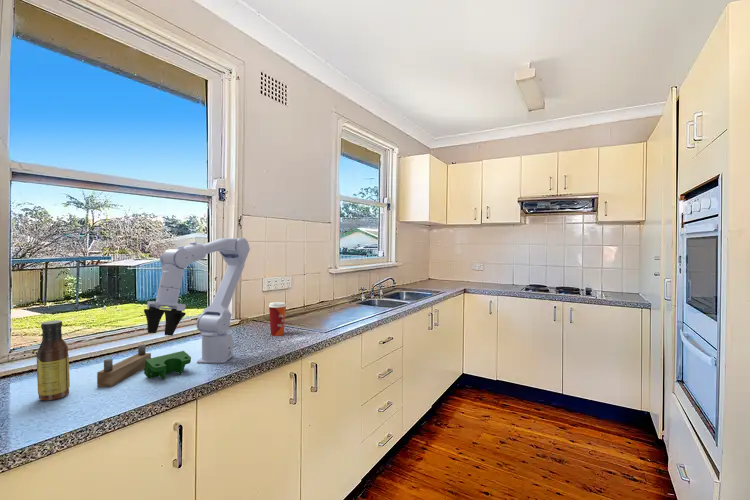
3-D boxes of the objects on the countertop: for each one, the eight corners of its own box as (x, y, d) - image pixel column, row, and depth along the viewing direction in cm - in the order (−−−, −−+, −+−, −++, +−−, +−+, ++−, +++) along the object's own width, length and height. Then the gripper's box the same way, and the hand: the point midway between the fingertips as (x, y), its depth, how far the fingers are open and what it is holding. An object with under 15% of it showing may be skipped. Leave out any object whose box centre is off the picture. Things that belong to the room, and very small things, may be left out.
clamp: (158, 394, 107) (147, 372, 103) (149, 384, 110) (139, 363, 106) (196, 369, 115) (188, 348, 111) (187, 361, 119) (179, 340, 114)
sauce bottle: (51, 392, 97) (50, 318, 97) (75, 391, 98) (75, 318, 98) (30, 403, 91) (29, 324, 91) (56, 402, 91) (55, 324, 91)
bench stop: (150, 365, 120) (150, 344, 119) (111, 386, 102) (111, 361, 101) (138, 365, 120) (138, 344, 119) (97, 386, 102) (97, 361, 101)
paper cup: (283, 336, 157) (283, 304, 157) (266, 336, 157) (266, 304, 157) (288, 332, 165) (288, 301, 164) (271, 332, 165) (271, 301, 164)
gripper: (141, 285, 109) (131, 331, 106) (173, 287, 102) (163, 336, 100) (163, 288, 115) (154, 332, 112) (194, 290, 109) (186, 336, 106)
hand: (160, 334), depth 106 cm, fingers open, 7 cm apart
